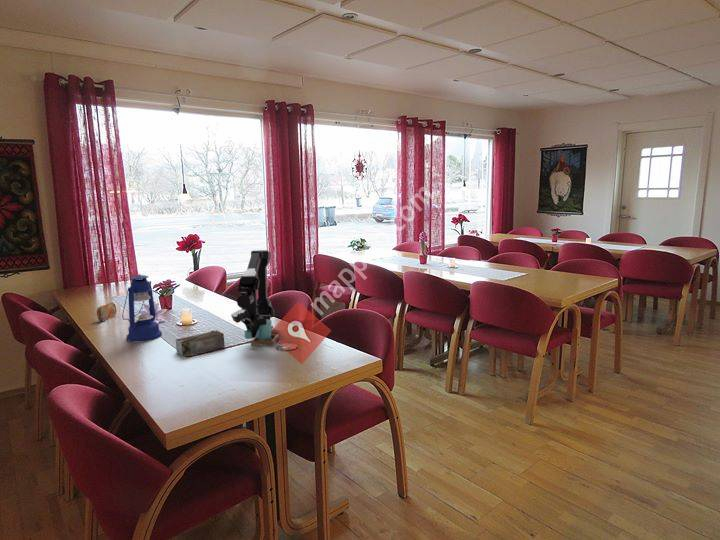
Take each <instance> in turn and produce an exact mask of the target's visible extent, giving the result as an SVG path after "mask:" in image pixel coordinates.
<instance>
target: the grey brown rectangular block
mask: <svg viewBox="0 0 720 540" xmlns="http://www.w3.org/2000/svg"><path fill="white" fill-rule="evenodd" d="M223 346H224V347H225V334H224V333H223V332H221V331H219V330H211V331H209V332H204V333H203V332H202V333H199V334H195V335H190V336H186V337H181V338H177V339H175V349H176V353H177V352H178V354H179V355H180V356H182V357H185V356H186V357H187V356H189V355H194V353H195V354H198V352H199V353H202V352H206V351H211V350H214V349H220V348H223Z"/></svg>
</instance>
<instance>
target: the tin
mask: <svg viewBox="0 0 720 540" xmlns="http://www.w3.org/2000/svg"><path fill="white" fill-rule="evenodd" d="M116 315H117V306H116V304H115V303H114V302H107V303H104V304H102V305H100V306H98V307H97V309H96V317H97V319H98V321H101V322H107V321H108V319H109V320H111V319H113V318H114V317H116ZM110 318H111V319H110ZM106 320H107V321H106Z"/></svg>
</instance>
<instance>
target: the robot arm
mask: <svg viewBox="0 0 720 540" xmlns="http://www.w3.org/2000/svg"><path fill="white" fill-rule="evenodd" d="M271 259H272V255H271V252H270V251H269V250H268V249H253V250H251V252H250V258H249V262H248V266H247V268H246V270H245V271H243V272H242V274H241V276H240V278H239V281H238V282H239V283H238V287H237V288H238V289H237V292H238V293H240V295H239V296H238V297H237V299H236V304H237V306H238V307H239V308H240V309H238V310H236V311H234V312H232V313H231V314H230V315H231V318H232V321H233V322H234V323H240V322H241V323H243V324H244V326H245V328H246V330H251V334H252V338H251V339H253V338H255V336H256V334H257V331H258V329H259V327H260V326H261V325H266V324H267V320H266V319H268V320H271V321H272V318H274V317H275V309H274V308H273V306H272V301H271V299H270V298H269V296H268V275H267V274H268V269H267V268H268V266H269V264H270V263H271ZM272 328H274V326H273V325H271V329H272Z"/></svg>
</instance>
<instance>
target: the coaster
mask: <svg viewBox="0 0 720 540" xmlns="http://www.w3.org/2000/svg"><path fill="white" fill-rule="evenodd" d="M288 343H289V342H288ZM284 344H285V343H280V344H278V345H277V346H276V349H277V348H278V349H280V350H279V351H281V350H285V348H286V347H283V346H284ZM280 345H281V346H280ZM287 347H289V348H288V349H289V350H290V343H289V346H287ZM278 349H277V350H278ZM286 350H287V349H286ZM290 351H291V350H290Z"/></svg>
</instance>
